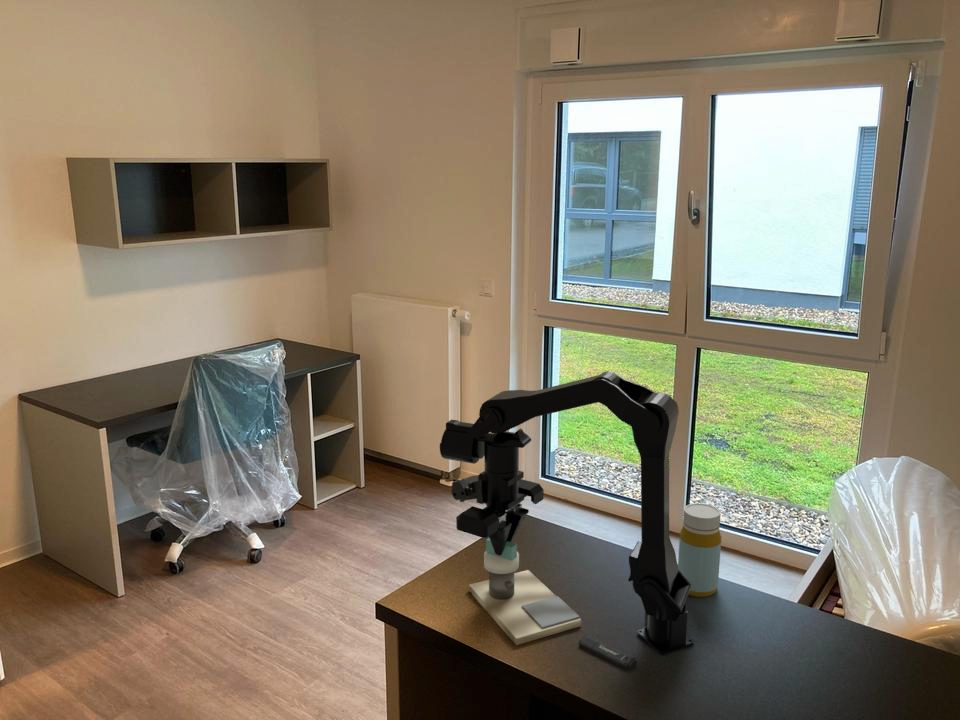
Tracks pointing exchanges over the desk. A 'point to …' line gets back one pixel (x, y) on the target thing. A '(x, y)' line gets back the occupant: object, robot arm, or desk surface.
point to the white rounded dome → (501, 558)
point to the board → (524, 606)
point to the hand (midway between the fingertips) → (501, 552)
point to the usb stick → (607, 652)
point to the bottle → (700, 548)
